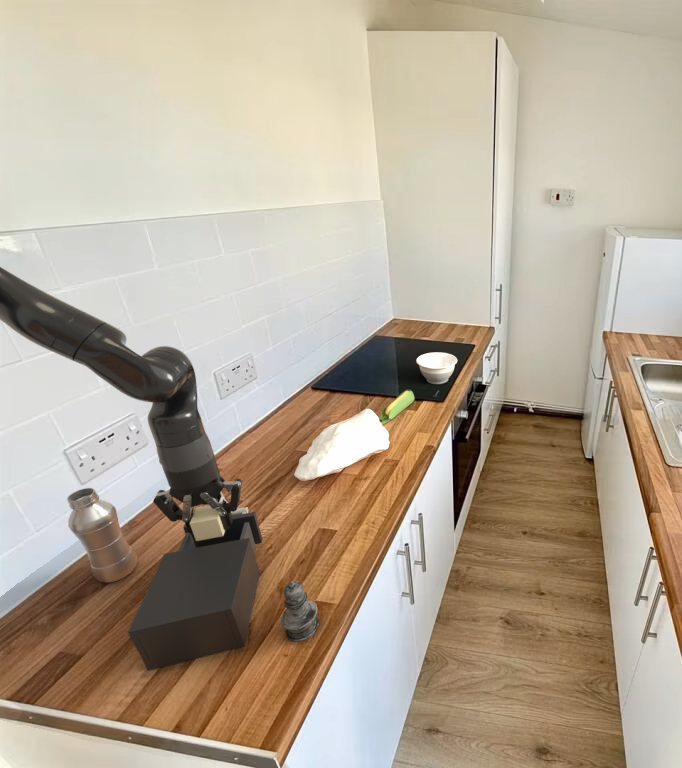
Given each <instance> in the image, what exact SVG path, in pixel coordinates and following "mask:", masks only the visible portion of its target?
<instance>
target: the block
mask: <svg viewBox="0 0 682 768" xmlns="http://www.w3.org/2000/svg"><path fill="white" fill-rule="evenodd" d="M193 513H194V514H193V517H192V519H191V521H190V526H191V529H192V531H193V534H194V537H195V539H196V541H200V540H205V539H211V538H216V537H222V536H224V533H225V530H224V528H223V525H222V522H221V519H220V514H219V513H218V512H217V511H216V510H215V509H212V508H211V507H210V505H209V504H206V505H200V506H196V508H195V509H194V512H193Z"/></svg>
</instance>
